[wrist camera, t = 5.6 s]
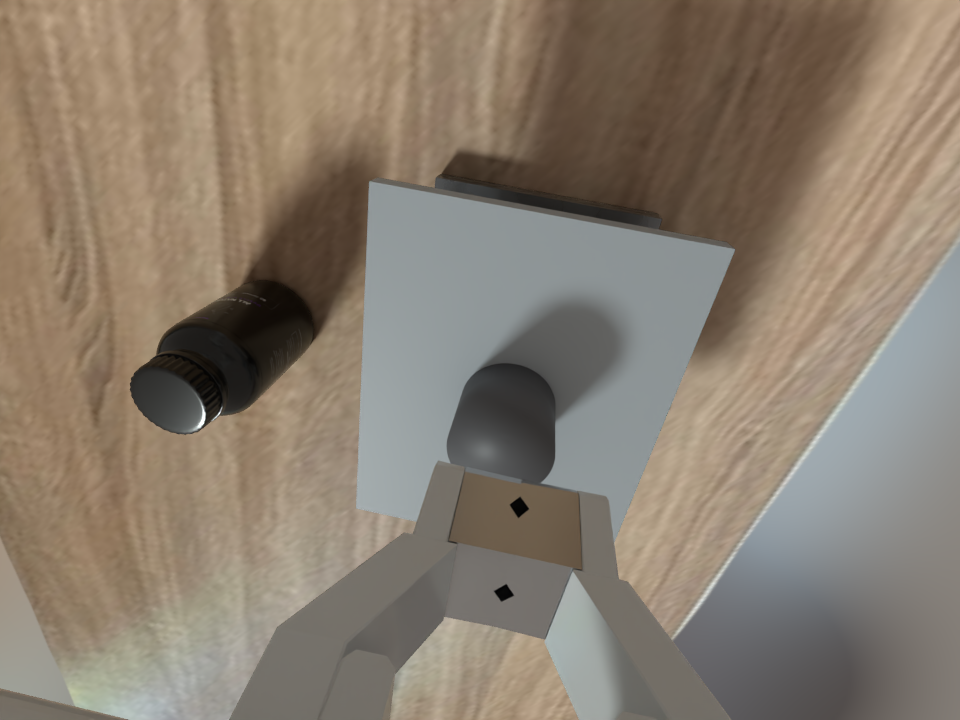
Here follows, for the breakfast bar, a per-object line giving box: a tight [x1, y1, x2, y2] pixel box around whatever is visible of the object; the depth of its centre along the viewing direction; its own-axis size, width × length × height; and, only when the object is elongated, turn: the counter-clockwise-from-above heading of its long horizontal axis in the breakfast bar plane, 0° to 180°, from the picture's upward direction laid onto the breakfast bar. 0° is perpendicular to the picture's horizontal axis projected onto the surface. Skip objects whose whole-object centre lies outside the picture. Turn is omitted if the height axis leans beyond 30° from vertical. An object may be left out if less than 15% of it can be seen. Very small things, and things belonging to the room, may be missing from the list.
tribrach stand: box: [435, 174, 662, 229], centre depth 32 cm, size 18×14×9 cm
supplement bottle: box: [130, 280, 314, 435], centre depth 33 cm, size 7×7×12 cm
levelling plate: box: [356, 178, 735, 542], centre depth 25 cm, size 20×16×6 cm
